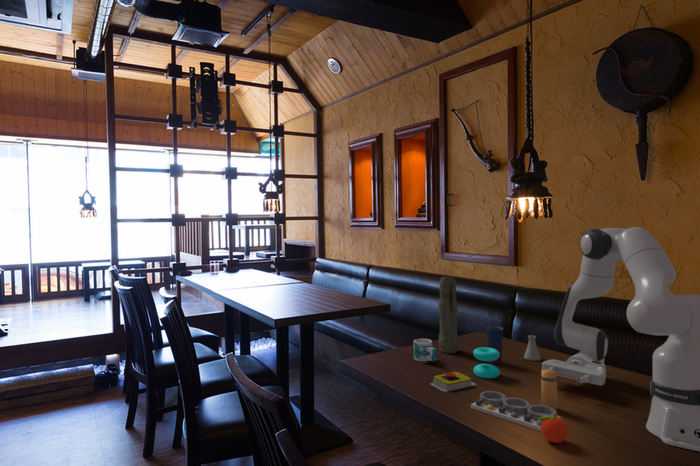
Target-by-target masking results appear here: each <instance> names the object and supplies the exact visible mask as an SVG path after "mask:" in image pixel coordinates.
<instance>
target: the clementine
mask: <svg viewBox="0 0 700 466" xmlns="http://www.w3.org/2000/svg"><path fill="white" fill-rule="evenodd" d="M558 416H559V415H557V416H554V415H547V416H543V417H541V418H544V419H543V421H542V423H541V431H542V432H541V431H540V432H541V434H542V436H543V437H544V438H545V439H546V440H547V441H549V442H550V443H552V444H553V443H554V444H560V443H563V442H564V441H566V440H567V438H568V437H569V426H568V425H567V423H566V421H565V420H564V419H563V418H560V417H561V416H560V417H558ZM541 418H540V419H541ZM540 419H538V420H540ZM537 422H538V421H537Z"/></svg>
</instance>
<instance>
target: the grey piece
mask: <svg viewBox="0 0 700 466" xmlns="http://www.w3.org/2000/svg"><path fill="white" fill-rule="evenodd" d="M470 409H472V410H475V411H478V412H481V413H483V414H487V415H490V416H493V417H496V418H499V419H502V420H504V421H508V422H511V423H514V424H517V425H519V426H523V427H526V428H529V429H532V430H535V431H538V432H541V433H542V431H541V423H542V421H543V419H544V418H541V417H543V416H547V415H554V416H558V417H560V418H561V416H559V415H558V412H557V410H556V411H555V410H554V409H553V408H551V407H547V406H544V405H542V404H530V402H529V401H528V400H526V399H523V398H519V397H506V395H505V393H502V392H499V391H495V390H485V391H484V390H483V392H481V393H479V399H477V400H475V402H472V403H471V404H470ZM540 418H541V419H540ZM538 419H540V420H538ZM561 419H562V418H561ZM537 421H538V422H537Z"/></svg>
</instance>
